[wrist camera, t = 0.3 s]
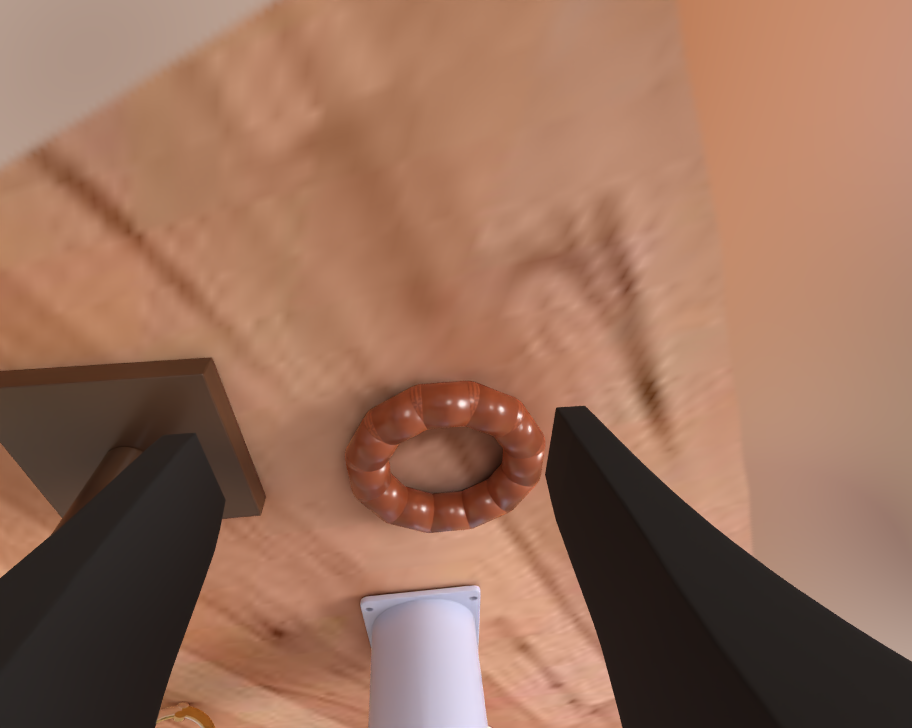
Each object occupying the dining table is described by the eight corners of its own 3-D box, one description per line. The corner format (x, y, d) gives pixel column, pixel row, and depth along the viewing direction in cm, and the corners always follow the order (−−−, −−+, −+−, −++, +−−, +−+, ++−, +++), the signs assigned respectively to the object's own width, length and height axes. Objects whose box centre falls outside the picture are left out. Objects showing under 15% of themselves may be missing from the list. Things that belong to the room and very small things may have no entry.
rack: (266, 496, 25) (236, 604, 20) (86, 512, 24) (12, 627, 19) (212, 356, 19) (155, 459, 15) (-21, 372, 19) (-157, 485, 14)
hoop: (530, 500, 27) (538, 530, 26) (362, 515, 26) (360, 547, 25) (547, 366, 22) (559, 394, 20) (334, 381, 21) (329, 411, 19)
